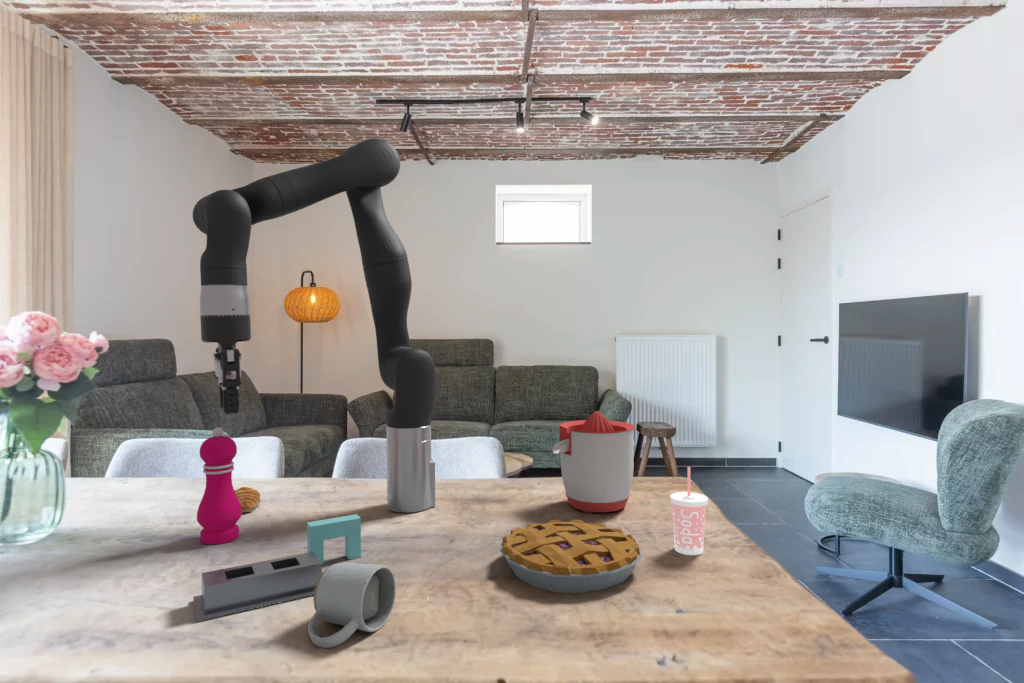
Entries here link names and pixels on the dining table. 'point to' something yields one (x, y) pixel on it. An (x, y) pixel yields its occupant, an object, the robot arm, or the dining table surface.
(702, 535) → the beverage cup
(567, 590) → the pie
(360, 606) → the ceramic mug
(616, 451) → the citrus juicer
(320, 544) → the clip
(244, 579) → the grey hollow block
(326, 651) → the dining table surface
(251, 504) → the pastry
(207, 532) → the pepper mill
